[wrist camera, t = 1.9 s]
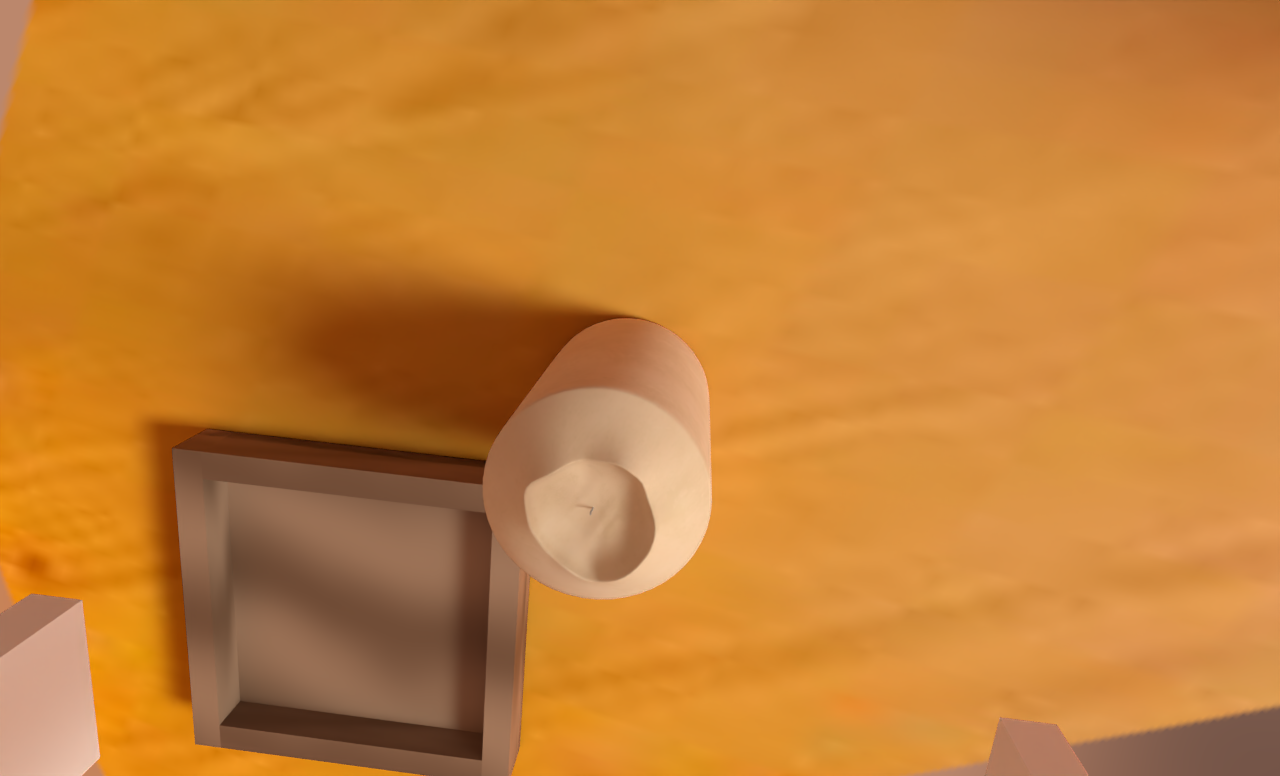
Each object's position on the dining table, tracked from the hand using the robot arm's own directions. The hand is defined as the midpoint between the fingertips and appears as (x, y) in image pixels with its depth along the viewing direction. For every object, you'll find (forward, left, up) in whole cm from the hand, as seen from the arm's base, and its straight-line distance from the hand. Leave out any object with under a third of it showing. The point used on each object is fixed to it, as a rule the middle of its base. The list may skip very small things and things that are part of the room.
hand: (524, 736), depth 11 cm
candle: (0, 0, -17) cm, 17 cm away
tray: (+9, -9, -16) cm, 21 cm away
